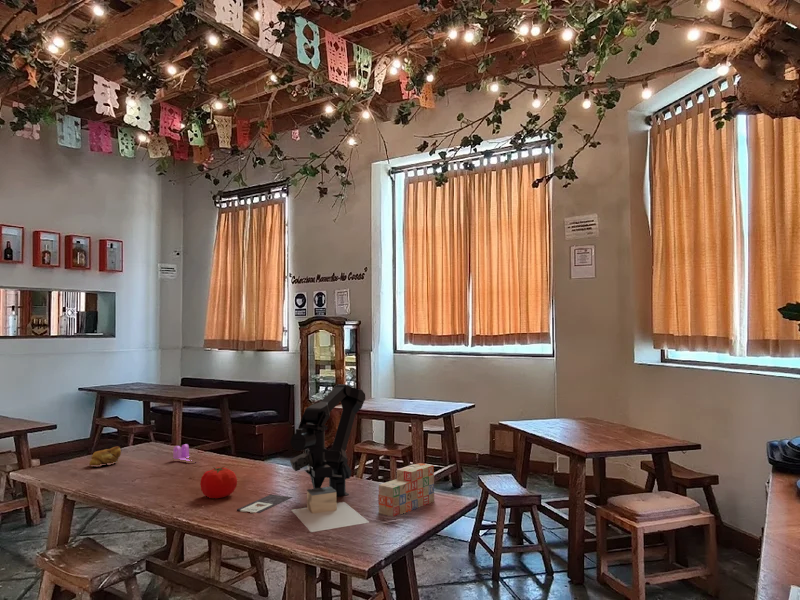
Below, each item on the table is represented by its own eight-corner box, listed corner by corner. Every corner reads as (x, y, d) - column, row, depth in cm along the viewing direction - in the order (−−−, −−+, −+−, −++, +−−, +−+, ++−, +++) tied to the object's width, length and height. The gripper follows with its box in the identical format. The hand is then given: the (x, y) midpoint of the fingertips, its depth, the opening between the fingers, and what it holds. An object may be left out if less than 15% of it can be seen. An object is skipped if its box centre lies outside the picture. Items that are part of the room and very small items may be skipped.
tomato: (205, 492, 208) (205, 464, 209) (240, 492, 208) (240, 463, 209) (194, 502, 197) (194, 471, 197) (231, 501, 197) (231, 470, 198)
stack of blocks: (393, 518, 177) (392, 477, 177) (378, 514, 181) (377, 474, 181) (434, 501, 193) (434, 464, 194) (420, 498, 197) (419, 462, 198)
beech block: (307, 508, 186) (307, 489, 187) (330, 504, 190) (330, 486, 190) (312, 513, 181) (312, 494, 181) (336, 509, 184) (336, 490, 185)
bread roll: (94, 469, 247) (94, 451, 247) (83, 467, 252) (83, 448, 253) (123, 463, 257) (123, 445, 257) (112, 461, 263) (112, 443, 263)
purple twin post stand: (173, 461, 261) (173, 445, 261) (183, 458, 265) (183, 443, 266) (191, 464, 254) (191, 448, 254) (202, 462, 258) (202, 446, 259)
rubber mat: (291, 511, 185) (291, 509, 185) (344, 503, 193) (344, 501, 193) (311, 533, 164) (311, 532, 164) (369, 523, 172) (369, 522, 172)
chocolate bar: (292, 497, 199) (259, 512, 183) (292, 499, 199) (259, 515, 183) (270, 494, 203) (236, 509, 186) (270, 497, 203) (236, 512, 186)
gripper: (285, 442, 197) (285, 489, 196) (299, 453, 180) (299, 503, 179) (317, 439, 201) (317, 485, 200) (333, 449, 184) (334, 498, 183)
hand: (316, 492), depth 191 cm, fingers closed
